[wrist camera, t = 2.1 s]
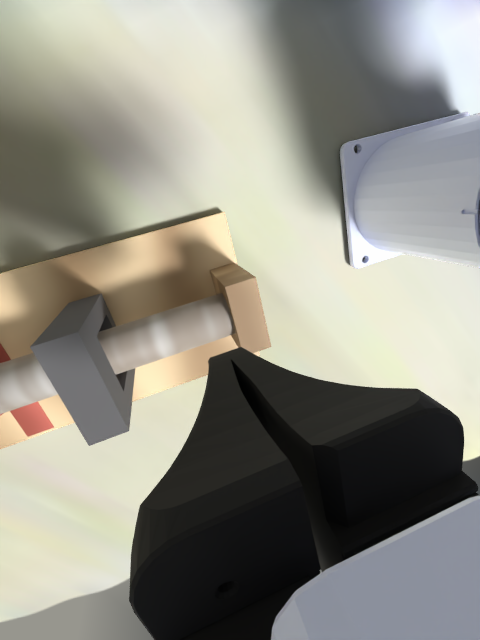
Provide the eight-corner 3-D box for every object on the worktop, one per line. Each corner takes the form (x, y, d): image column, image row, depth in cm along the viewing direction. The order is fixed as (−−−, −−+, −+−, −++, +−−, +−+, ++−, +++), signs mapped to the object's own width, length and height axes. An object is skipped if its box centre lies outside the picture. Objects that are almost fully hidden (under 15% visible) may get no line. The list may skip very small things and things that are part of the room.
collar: (101, 293, 17) (78, 331, 12) (135, 368, 19) (128, 431, 14) (68, 302, 17) (29, 347, 11) (106, 378, 19) (89, 445, 14)
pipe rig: (222, 211, 18) (245, 213, 14) (257, 352, 22) (284, 389, 18) (-156, 315, 15) (-288, 361, 11) (-37, 457, 19) (-95, 534, 15)
